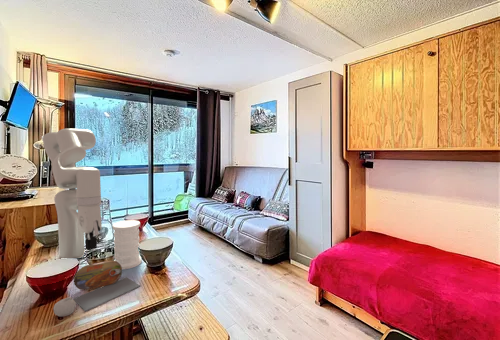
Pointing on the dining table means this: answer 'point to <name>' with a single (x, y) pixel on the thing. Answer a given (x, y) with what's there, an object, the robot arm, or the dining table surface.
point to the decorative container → (127, 243)
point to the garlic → (64, 307)
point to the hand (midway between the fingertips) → (91, 248)
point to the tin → (98, 275)
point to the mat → (105, 293)
